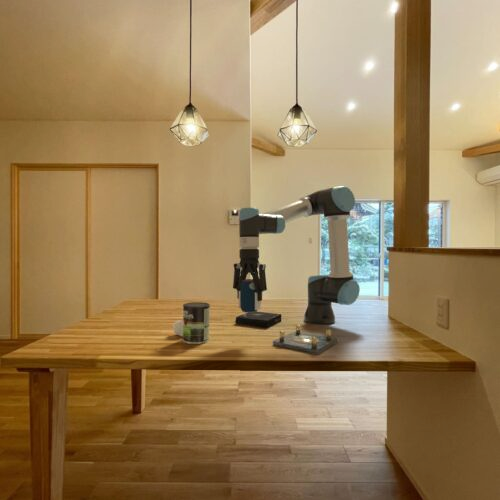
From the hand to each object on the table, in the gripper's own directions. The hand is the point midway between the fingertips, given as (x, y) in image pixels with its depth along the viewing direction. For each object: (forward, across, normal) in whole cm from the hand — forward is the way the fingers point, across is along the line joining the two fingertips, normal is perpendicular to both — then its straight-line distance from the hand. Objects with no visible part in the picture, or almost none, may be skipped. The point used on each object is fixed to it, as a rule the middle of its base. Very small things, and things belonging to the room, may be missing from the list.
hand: (249, 308), depth 122 cm
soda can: (+1, 0, 0) cm, 1 cm away
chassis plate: (+13, +18, +12) cm, 25 cm away
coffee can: (+13, -18, -10) cm, 25 cm away
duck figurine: (+13, -27, -6) cm, 31 cm away
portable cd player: (+14, -16, +30) cm, 37 cm away
